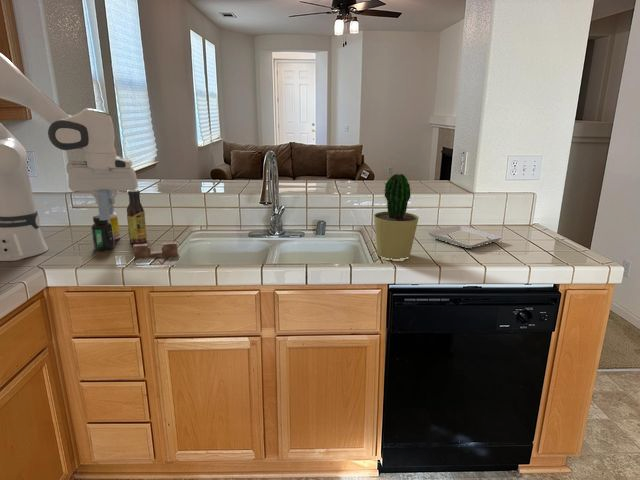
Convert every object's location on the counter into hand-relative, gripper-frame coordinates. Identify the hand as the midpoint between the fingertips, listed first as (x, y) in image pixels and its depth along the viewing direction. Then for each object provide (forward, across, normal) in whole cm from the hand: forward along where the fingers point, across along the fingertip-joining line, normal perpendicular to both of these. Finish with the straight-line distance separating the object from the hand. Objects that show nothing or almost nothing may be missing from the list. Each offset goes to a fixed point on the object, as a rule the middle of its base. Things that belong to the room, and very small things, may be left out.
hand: (105, 203), depth 143 cm
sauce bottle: (+19, +7, +18) cm, 27 cm away
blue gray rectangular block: (+4, 0, 0) cm, 4 cm away
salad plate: (+16, +132, -11) cm, 133 cm away
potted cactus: (+16, +96, -22) cm, 99 cm away
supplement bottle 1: (+19, -4, +12) cm, 23 cm away
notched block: (+18, +15, -2) cm, 24 cm away
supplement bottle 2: (+19, -4, +25) cm, 32 cm away
